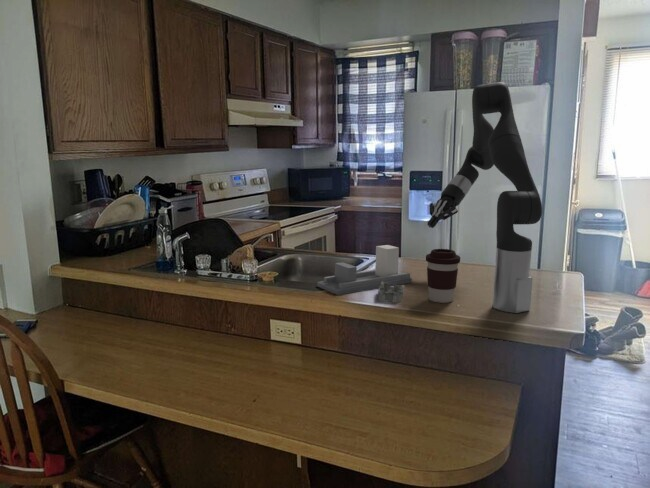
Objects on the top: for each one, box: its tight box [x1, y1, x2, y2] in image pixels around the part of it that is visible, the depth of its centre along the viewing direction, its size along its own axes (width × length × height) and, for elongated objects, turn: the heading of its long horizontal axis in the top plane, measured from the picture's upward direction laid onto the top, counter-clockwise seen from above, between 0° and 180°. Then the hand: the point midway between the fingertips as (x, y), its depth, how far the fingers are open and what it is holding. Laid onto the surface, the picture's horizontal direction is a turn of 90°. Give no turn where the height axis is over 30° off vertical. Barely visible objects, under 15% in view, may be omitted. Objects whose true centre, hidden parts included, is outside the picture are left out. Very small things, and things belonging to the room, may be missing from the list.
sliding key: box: [375, 244, 400, 277], centre depth 173 cm, size 6×5×10 cm
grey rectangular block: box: [334, 262, 358, 283], centre depth 165 cm, size 8×4×6 cm, turn 32°
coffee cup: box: [425, 248, 461, 304], centre depth 151 cm, size 10×10×15 cm
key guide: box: [316, 269, 413, 296], centre depth 169 cm, size 12×30×3 cm, turn 122°
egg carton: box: [377, 281, 406, 303], centre depth 155 cm, size 11×8×4 cm
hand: (429, 226), depth 181 cm, fingers closed
